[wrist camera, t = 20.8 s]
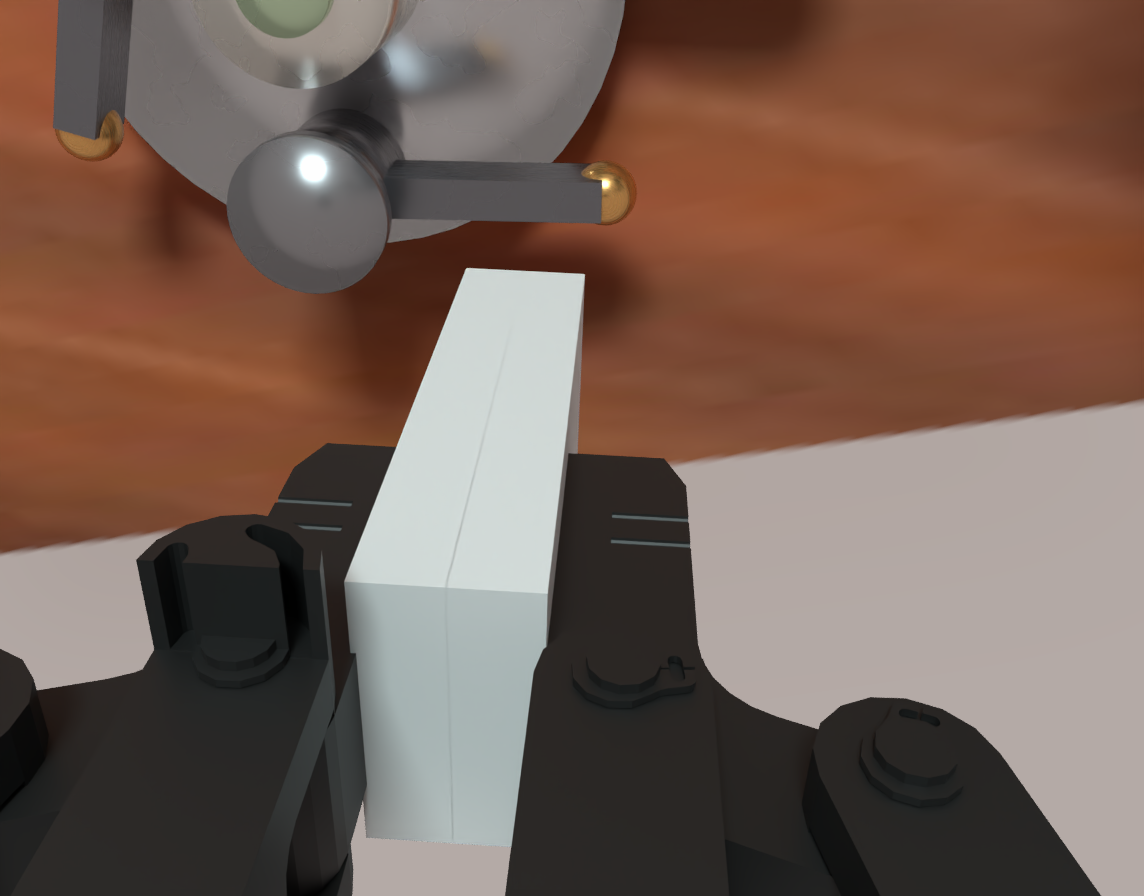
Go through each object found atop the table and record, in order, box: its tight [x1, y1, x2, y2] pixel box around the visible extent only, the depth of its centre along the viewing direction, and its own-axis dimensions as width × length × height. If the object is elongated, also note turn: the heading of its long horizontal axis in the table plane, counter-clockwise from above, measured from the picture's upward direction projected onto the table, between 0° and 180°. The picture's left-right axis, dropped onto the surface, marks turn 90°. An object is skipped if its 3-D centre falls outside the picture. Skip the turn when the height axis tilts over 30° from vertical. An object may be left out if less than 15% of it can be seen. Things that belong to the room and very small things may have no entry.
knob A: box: [227, 108, 637, 294], centre depth 38 cm, size 13×5×6 cm, turn 90°
